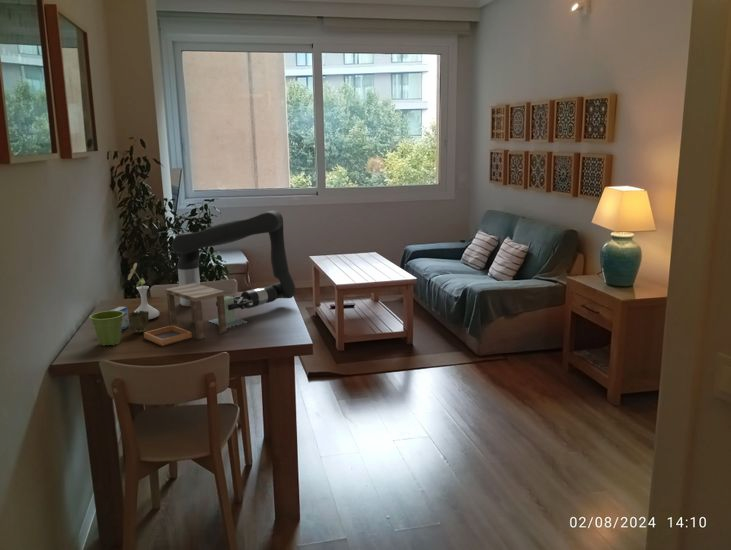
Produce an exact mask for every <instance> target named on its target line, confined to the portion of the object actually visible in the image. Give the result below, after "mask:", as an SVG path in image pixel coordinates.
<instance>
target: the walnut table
mask: <svg viewBox="0 0 731 550" xmlns="http://www.w3.org/2000/svg"><path fill="white" fill-rule="evenodd" d="M164 291H165V292H164V293H165V294H166V300H167V301H166V302H167V303H166V304H167V313H168V322H169V326H171V325H173V326H176V327H178V325H177V324H178V323H177V322H178V321H177V314H176V304H175V303H176V302H175V297H178V298H180V297H181V298H184V299H187V300H190V306H189V307H190V315H191V323H192V324H194V323H195V333H196V339H197V340H199V339H201V340H203V338H204V339H205V330H204V319H203V317H204V316H203V307H202V303H201V301H204V300H208V299H212V298H216V301H217V306H216V307H217V318H218V322H219V325H218V331H219V333H220V332H221V334H224V333H223V332H225V333H227V332H226V331H227V328H226V318H225V305H224V297H225V295H226V294H225V293H226V292H225V290H221V289H217V288H214V287H211V286H206V285H204V284H200V285H199V284H196V283H192V284H187V285H182V286H179V285H178V286H174V287H173V286H172V287H168V288H165V289H164Z"/></svg>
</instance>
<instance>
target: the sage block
mask: <svg viewBox="0 0 731 550" xmlns="http://www.w3.org/2000/svg"><path fill="white" fill-rule="evenodd" d="M233 303H234V298H233V297H229V295H227V296H225V295H224V305H225V318H226V323H230V322H233V321H235V318H236V313H235V309H233V310H228V305H229V304H233Z"/></svg>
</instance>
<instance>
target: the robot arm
mask: <svg viewBox="0 0 731 550" xmlns="http://www.w3.org/2000/svg"><path fill="white" fill-rule="evenodd" d="M259 234H268V236H269V239H270V264H271V269H272V274H273V276H274V278H275V279H277V280H278V281H279V282H277V283H274V284H271V285H269V286H264V287H263V286H262V287H257V288H253V289H248V290H244V291H242V292H241V295H237V296H235V295H230V296H229V295H228V296H229V297H233V298H234V303H233V304H229V305H228V310H233V309H234V310H235V309H237V310H239V309H241V310H245V309H252V308H256V307H260V306H263V305H265V304H269V303H272V302H274V301H276V300H278V299H292V298H294V296H295V294H296V284H295V281H294V279H293V277H292V275H291V274H290V270H289V265H288V260H287V254H286V249H285V248H286V247H285V238H284V237H285V236H284V234H285V233H284V218H283V215H282V213H280V212H279V211H277V210H276V209H275V210H274V209H273V210H272V209H271V210H268V211H264V212H262V213H260V214H257V215H254V216H252V217H249V218H246V219H235V220H230V221H225V222H222V223H218V224H215V225H212V226H209V227H207V228H204V229H202V230H200V231H196V232H191V231H186V232H183V233H180V234H177V235H176V236H175V237H174V238H173V239H172V243H171V248H172V250H173V251H174V252H176V253H177V254H179V259H178V261H177V264H176V266H177V274H178V275H177V276H178V286H182V285H187V284H192V283H196V284H199V285H201V280H200V268H199V262H200V249H204V248H209V247H215V246H216V247H217V246H221V245H226V244H227V245H228V244H229V243H230V244H231V243H234V242H237V241H239V240H240V241H241V240H242V239H245V238H248V237H250V236H255V235H259ZM179 300H180V305H181V306H182V307H191V306H190V300H187V299H184V298H181V297H179ZM202 301H203V300H201V304H202ZM215 305H216V306H215V307H217V300H216V302H215Z"/></svg>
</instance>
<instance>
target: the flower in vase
mask: <svg viewBox="0 0 731 550" xmlns="http://www.w3.org/2000/svg"><path fill="white" fill-rule="evenodd" d="M137 266H138V263H137V262H135V263H134V264H133V266H132V268H131V269H130V273H129V274H128V275H127V279H126V280H128V281H130V280H131V279H132V277H133V275H134V274H135V275H136V277H137V278H138V282H137V283H136V286H135V287H136V290H137V291H138V292H139V295H140V304H139V306H138V308H136V309H135V310H134V311H133V312H135V313H136V312H138V313H139V312H140V311H144V312H145V311H146V312H147V311H148V312H149V314H148V321H149V320H152V319H155V318H158V317H159V316H160V311H159V310H158V309H156V308H154V307H153V306H151V305H150V304H149V303H148V298H147V293H148V289H150V287H149V286H148V285H145V284H146V281H145V279H144V278H143V277H141V278H140V277H139V275H138V273H137V272H136V269H137Z"/></svg>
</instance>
